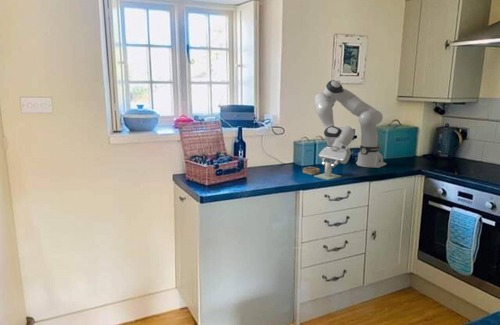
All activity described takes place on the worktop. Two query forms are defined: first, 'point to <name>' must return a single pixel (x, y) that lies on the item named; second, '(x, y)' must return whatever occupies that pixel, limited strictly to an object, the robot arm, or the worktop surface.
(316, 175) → the tile pad
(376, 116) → the robot arm
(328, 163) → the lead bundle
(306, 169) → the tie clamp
